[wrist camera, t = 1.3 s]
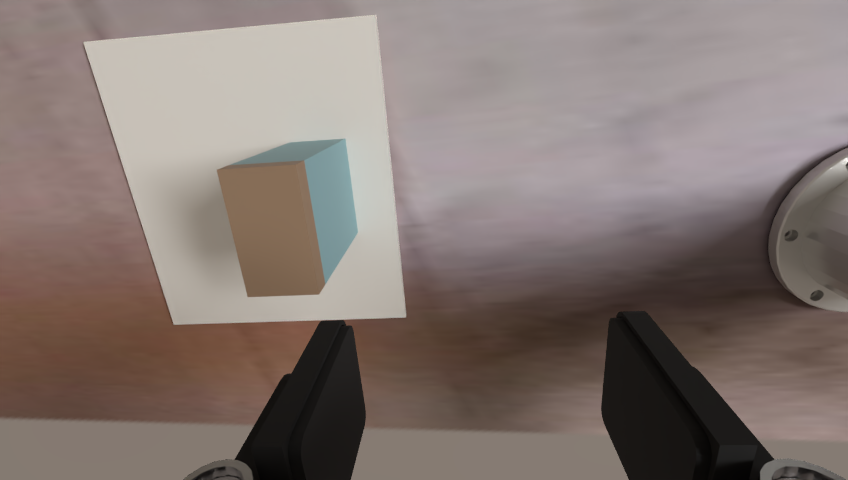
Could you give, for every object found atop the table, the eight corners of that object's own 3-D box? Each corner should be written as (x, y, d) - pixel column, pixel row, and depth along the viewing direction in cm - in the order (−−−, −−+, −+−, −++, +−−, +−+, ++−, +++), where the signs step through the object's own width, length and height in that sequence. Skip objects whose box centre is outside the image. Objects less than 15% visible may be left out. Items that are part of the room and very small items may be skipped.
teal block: (345, 138, 30) (295, 164, 20) (358, 232, 32) (319, 294, 23) (290, 142, 30) (216, 169, 21) (306, 235, 32) (247, 297, 23)
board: (376, 15, 27) (375, 14, 27) (406, 314, 35) (406, 317, 34) (87, 42, 29) (83, 41, 28) (176, 322, 36) (173, 324, 36)
